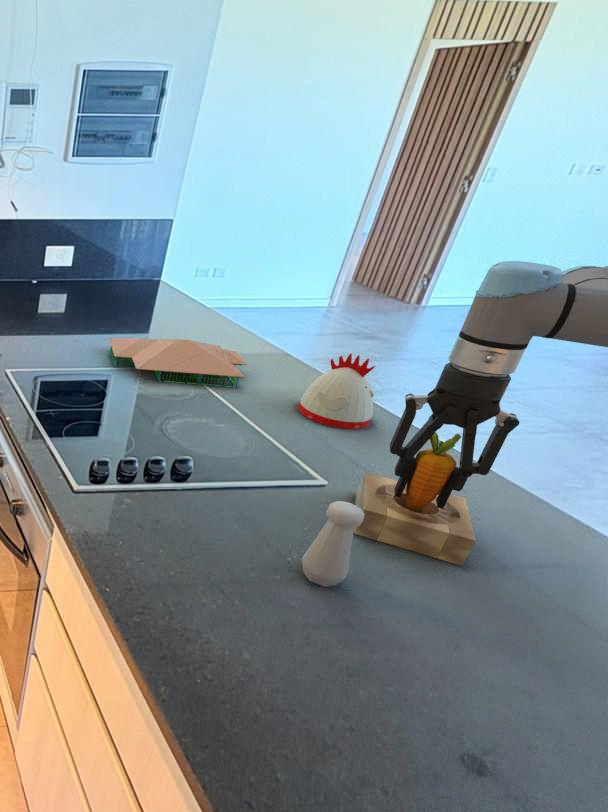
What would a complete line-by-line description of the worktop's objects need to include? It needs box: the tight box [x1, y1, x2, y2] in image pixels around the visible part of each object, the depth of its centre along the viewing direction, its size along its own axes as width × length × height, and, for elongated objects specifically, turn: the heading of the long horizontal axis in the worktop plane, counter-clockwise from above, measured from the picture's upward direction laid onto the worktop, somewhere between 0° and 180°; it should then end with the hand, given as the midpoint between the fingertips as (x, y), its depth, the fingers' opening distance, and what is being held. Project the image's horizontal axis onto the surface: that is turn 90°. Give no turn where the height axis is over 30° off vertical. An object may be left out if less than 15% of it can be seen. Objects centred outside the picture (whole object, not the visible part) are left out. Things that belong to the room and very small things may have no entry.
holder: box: [353, 472, 477, 567], centre depth 103 cm, size 14×14×5 cm
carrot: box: [406, 431, 462, 512], centre depth 100 cm, size 5×5×15 cm
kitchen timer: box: [297, 352, 376, 430], centre depth 139 cm, size 14×14×15 cm
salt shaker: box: [301, 500, 364, 588], centre depth 90 cm, size 6×6×13 cm
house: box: [108, 337, 248, 388], centre depth 167 cm, size 23×33×8 cm
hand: (418, 498), depth 102 cm, fingers closed on carrot, 5 cm apart
